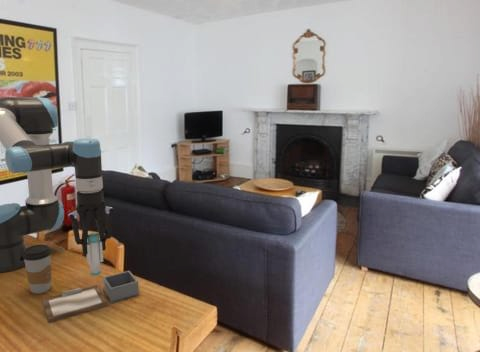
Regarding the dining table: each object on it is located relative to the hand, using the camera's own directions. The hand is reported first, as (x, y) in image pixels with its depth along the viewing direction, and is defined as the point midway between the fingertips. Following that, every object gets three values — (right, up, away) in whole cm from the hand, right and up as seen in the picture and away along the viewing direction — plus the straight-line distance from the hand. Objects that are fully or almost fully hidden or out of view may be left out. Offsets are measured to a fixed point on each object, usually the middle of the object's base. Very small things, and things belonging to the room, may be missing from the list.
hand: (95, 261), depth 116 cm
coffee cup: (-23, -12, +10) cm, 28 cm away
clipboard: (-7, -14, +2) cm, 16 cm away
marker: (0, -4, +1) cm, 4 cm away
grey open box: (+5, -13, +9) cm, 17 cm away
